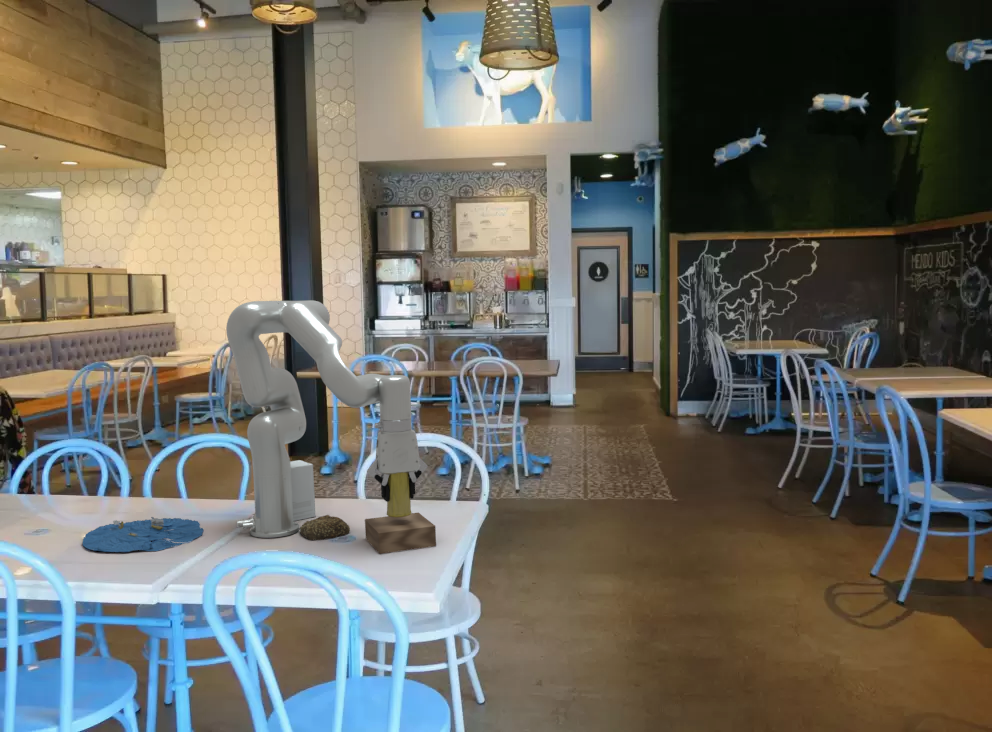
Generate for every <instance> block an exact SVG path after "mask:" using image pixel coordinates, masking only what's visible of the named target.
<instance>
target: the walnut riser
mask: <svg viewBox="0 0 992 732" xmlns="http://www.w3.org/2000/svg"><path fill="white" fill-rule="evenodd" d="M364 526H365V527H364V530H365V533H364V534H365V540H366V541H367V542H368V543H369V544H370V545H371V547H373V549H374V550H376V552H377V553H378V554H379V555H383V554H390V553H397V552H403V551H404V552H405V551H410V550H417V549H426V548H432V547H433V548H434V547H436V546H437V537H436V531H437V530H436V525H435V524H434V523H433V522H431V521H430V520H428V519H427V518H426V517H425V516H424V515H422V514H421V513H420V512H414V513H413V512H412V513H411V514H410V515H409V516H405V517H390V516H388V515H387V516H379V517H372V518H365V519H364Z"/></svg>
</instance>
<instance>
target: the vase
mask: <svg viewBox="0 0 992 732" xmlns="http://www.w3.org/2000/svg"><path fill="white" fill-rule="evenodd" d="M387 485H389V501H388V502H386V503H387V505H386V515H387V516H390V517H405V516H409V515H410V514H411V513H413V511H412V508H411V507H412V506H411V498H410V487H409V473H408V472H407V473H403V472H401V473H396V474H389V478H388V481H387Z"/></svg>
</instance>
